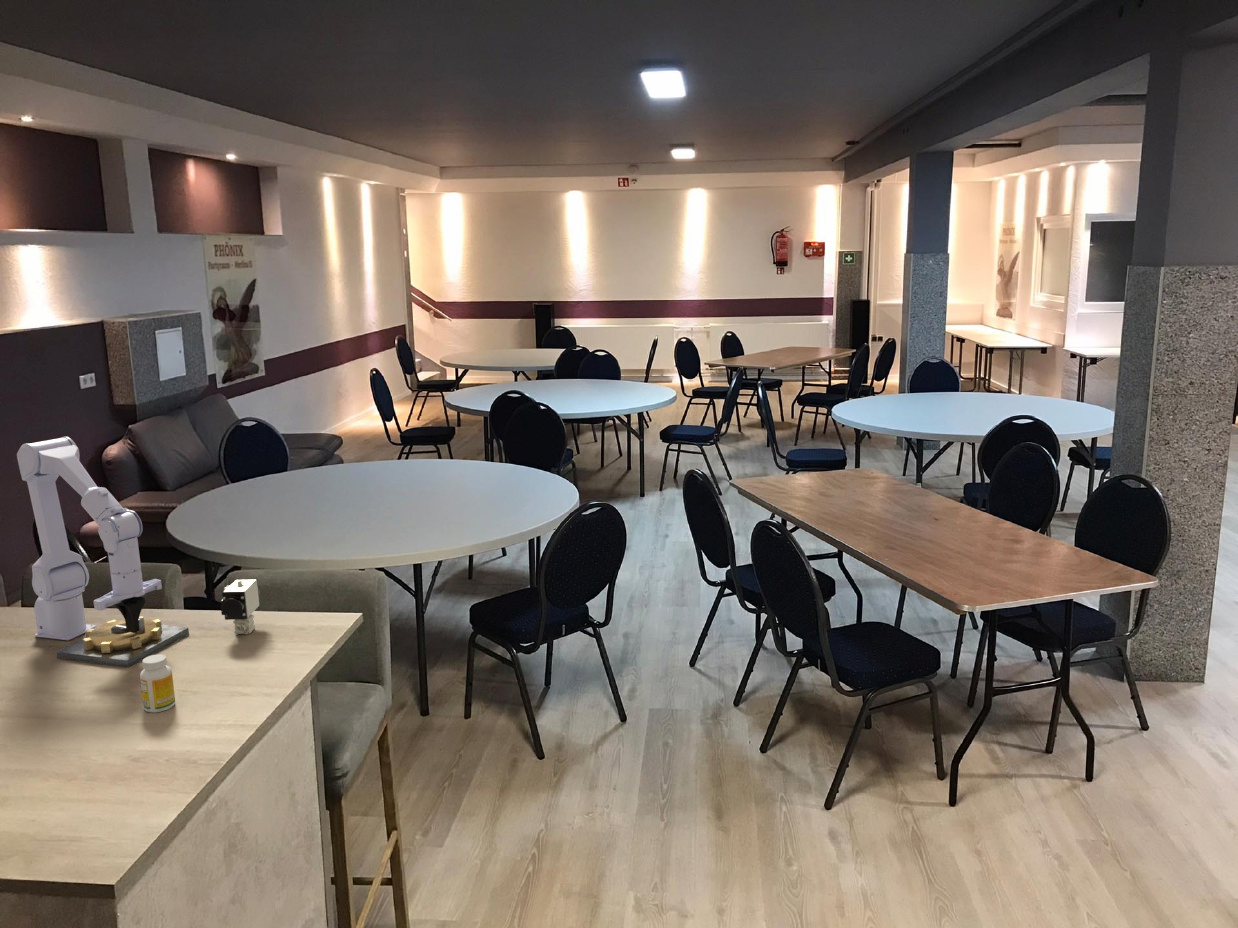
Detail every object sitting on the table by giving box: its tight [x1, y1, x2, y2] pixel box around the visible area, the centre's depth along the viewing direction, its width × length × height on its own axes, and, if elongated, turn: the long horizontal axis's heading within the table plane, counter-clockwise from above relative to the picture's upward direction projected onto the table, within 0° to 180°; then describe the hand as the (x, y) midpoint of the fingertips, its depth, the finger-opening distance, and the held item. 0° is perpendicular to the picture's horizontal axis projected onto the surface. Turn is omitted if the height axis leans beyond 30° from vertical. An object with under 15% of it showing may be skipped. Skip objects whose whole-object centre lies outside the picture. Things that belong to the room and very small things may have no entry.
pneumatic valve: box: [219, 578, 261, 636], centre depth 213 cm, size 6×12×12 cm, turn 2°
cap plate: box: [55, 624, 190, 668], centre depth 207 cm, size 18×18×2 cm
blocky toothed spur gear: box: [82, 616, 163, 653], centre depth 207 cm, size 15×15×5 cm
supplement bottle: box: [139, 653, 176, 713], centre depth 178 cm, size 5×5×10 cm
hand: (133, 631), depth 203 cm, fingers closed
